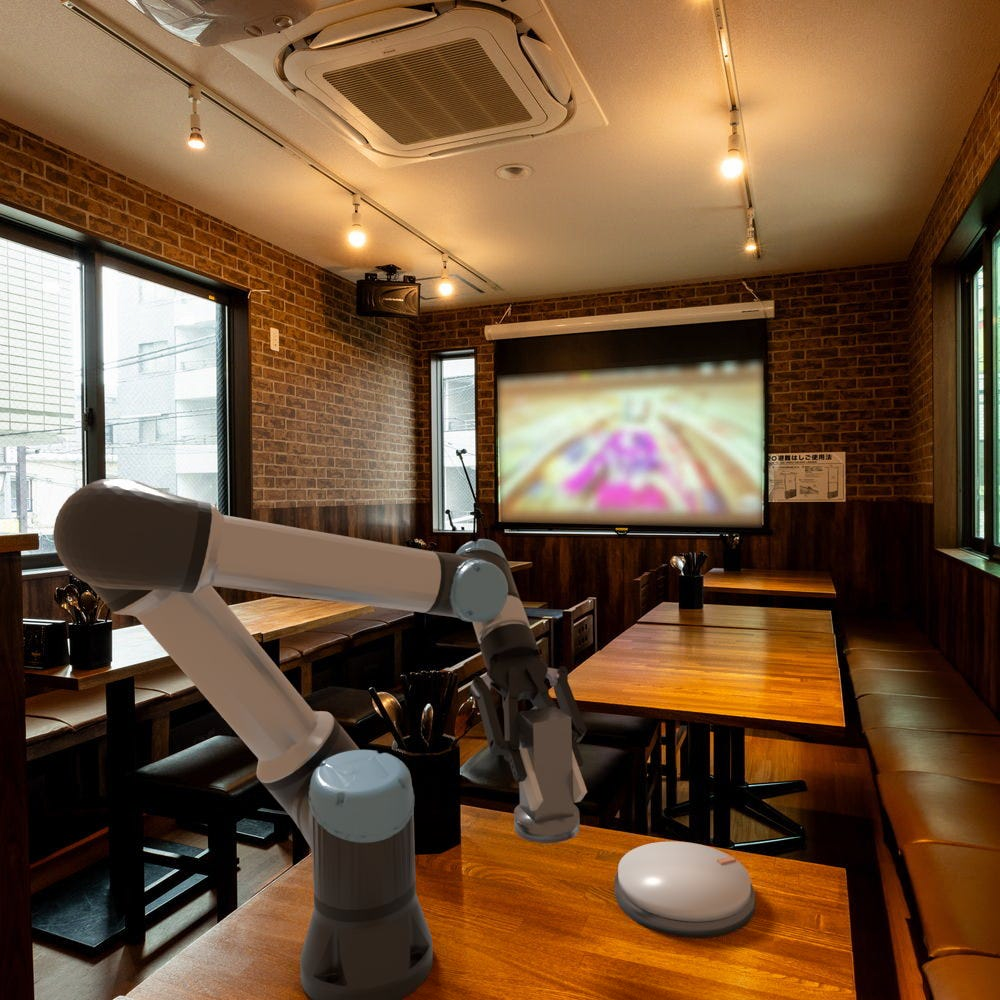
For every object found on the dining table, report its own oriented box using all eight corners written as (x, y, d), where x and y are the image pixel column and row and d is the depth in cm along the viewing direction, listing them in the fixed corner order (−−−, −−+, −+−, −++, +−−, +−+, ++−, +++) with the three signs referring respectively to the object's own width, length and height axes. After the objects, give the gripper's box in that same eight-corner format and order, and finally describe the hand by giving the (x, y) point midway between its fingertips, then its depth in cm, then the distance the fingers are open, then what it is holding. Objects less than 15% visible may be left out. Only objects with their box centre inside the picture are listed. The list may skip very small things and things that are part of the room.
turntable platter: (665, 935, 88) (664, 920, 88) (595, 867, 104) (595, 854, 103) (779, 902, 94) (779, 888, 94) (697, 842, 110) (697, 830, 110)
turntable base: (664, 953, 87) (663, 940, 87) (591, 878, 104) (590, 867, 104) (785, 916, 94) (785, 904, 94) (698, 851, 110) (698, 841, 110)
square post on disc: (529, 848, 86) (526, 728, 86) (504, 820, 94) (501, 709, 93) (591, 835, 89) (588, 719, 89) (562, 809, 97) (559, 701, 96)
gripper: (556, 645, 108) (615, 801, 94) (437, 658, 102) (480, 828, 87) (572, 615, 103) (637, 774, 88) (447, 626, 97) (495, 801, 82)
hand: (559, 801), depth 88 cm, fingers closed on square post on disc, 5 cm apart
